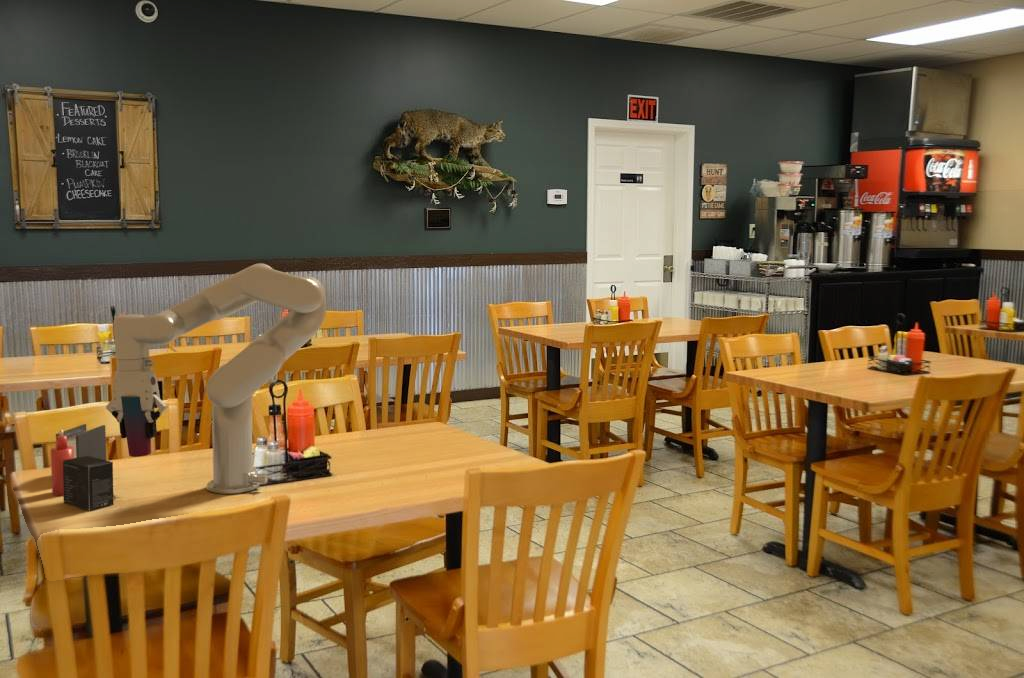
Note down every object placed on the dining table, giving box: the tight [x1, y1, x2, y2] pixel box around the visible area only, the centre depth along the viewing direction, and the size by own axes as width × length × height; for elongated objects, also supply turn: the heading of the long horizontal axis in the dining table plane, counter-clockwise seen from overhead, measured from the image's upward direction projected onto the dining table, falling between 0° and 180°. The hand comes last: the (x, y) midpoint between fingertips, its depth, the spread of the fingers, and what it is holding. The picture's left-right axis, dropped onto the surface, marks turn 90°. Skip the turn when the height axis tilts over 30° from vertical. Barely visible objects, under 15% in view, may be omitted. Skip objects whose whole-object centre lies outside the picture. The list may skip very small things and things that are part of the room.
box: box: [63, 456, 114, 512], centre depth 207 cm, size 11×7×10 cm, turn 58°
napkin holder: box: [55, 423, 108, 461], centre depth 229 cm, size 6×12×12 cm, turn 173°
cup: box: [121, 396, 152, 458], centre depth 217 cm, size 7×7×15 cm
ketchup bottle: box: [50, 429, 74, 497], centre depth 215 cm, size 5×5×16 cm
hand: (138, 436), depth 217 cm, fingers closed on cup, 6 cm apart
